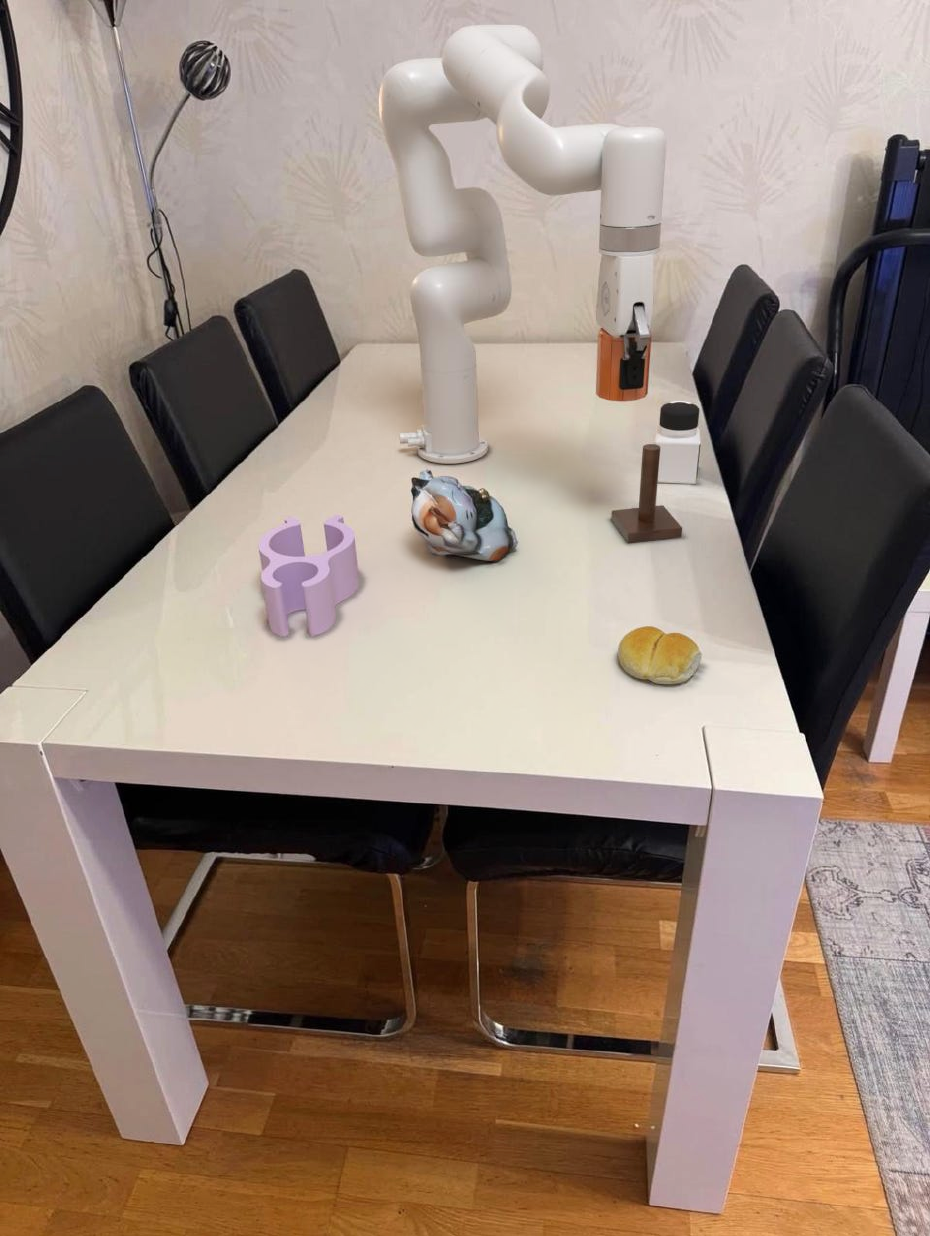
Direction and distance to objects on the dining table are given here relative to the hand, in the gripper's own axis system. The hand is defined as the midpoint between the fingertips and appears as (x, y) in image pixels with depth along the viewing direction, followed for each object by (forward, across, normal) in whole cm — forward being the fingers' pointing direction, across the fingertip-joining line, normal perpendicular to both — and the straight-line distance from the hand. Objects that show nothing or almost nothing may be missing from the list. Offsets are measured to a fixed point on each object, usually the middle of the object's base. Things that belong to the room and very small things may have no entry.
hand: (622, 379), depth 121 cm
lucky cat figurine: (+22, +3, -23) cm, 32 cm away
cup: (+2, 0, 0) cm, 2 cm away
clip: (+22, +11, -45) cm, 51 cm away
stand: (+22, +2, +4) cm, 22 cm away
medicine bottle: (+22, -16, +15) cm, 31 cm away
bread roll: (+22, +36, -6) cm, 43 cm away
